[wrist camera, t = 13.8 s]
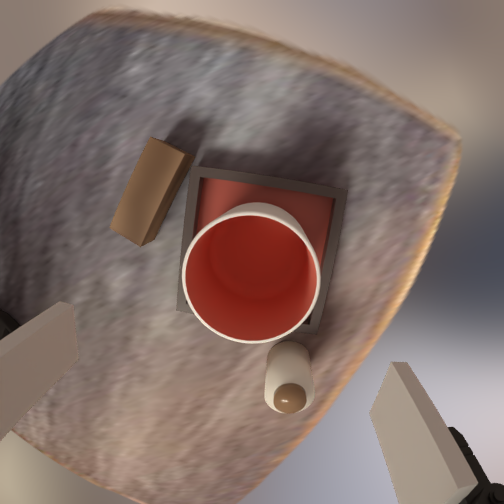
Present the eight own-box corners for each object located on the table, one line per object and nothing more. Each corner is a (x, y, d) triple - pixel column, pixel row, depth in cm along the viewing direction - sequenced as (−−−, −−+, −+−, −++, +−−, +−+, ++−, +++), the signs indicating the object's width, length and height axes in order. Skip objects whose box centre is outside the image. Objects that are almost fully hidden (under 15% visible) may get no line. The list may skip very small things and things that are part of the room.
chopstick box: (126, 222, 33) (109, 227, 30) (164, 141, 31) (150, 136, 27) (155, 239, 34) (140, 246, 30) (195, 157, 31) (184, 154, 27)
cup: (244, 181, 30) (230, 181, 21) (326, 239, 31) (349, 265, 21) (191, 262, 33) (158, 295, 23) (269, 314, 33) (267, 365, 24)
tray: (182, 302, 35) (176, 310, 32) (197, 166, 31) (191, 165, 29) (314, 324, 34) (316, 334, 32) (342, 189, 31) (348, 190, 28)
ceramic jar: (263, 372, 36) (260, 416, 28) (271, 338, 35) (269, 378, 27) (304, 378, 36) (308, 421, 28) (313, 344, 35) (321, 384, 27)
